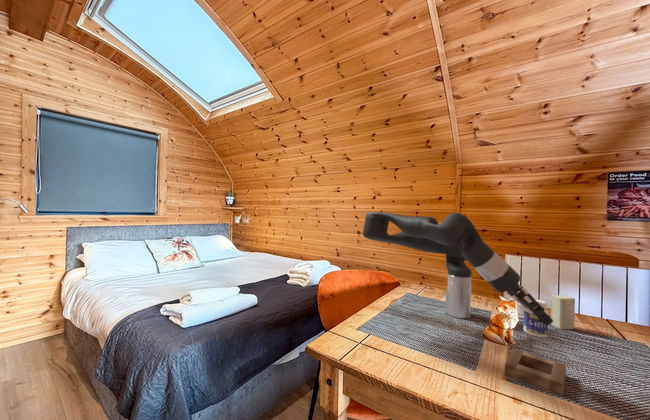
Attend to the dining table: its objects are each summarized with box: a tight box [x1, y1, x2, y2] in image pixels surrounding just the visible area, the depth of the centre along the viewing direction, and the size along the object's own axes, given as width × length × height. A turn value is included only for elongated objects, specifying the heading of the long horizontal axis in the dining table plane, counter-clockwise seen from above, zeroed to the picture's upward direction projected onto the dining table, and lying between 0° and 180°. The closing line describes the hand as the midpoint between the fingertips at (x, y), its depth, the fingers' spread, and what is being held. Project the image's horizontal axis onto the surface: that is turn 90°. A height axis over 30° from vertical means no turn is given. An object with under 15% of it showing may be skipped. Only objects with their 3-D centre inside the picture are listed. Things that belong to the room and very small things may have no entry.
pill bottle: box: [522, 298, 549, 338], centre depth 74 cm, size 5×5×9 cm
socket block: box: [504, 348, 567, 397], centre depth 74 cm, size 12×12×3 cm
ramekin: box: [509, 297, 524, 317], centre depth 121 cm, size 11×11×5 cm
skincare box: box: [550, 294, 576, 330], centre depth 106 cm, size 6×4×12 cm
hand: (543, 318), depth 73 cm, fingers closed on pill bottle, 5 cm apart
